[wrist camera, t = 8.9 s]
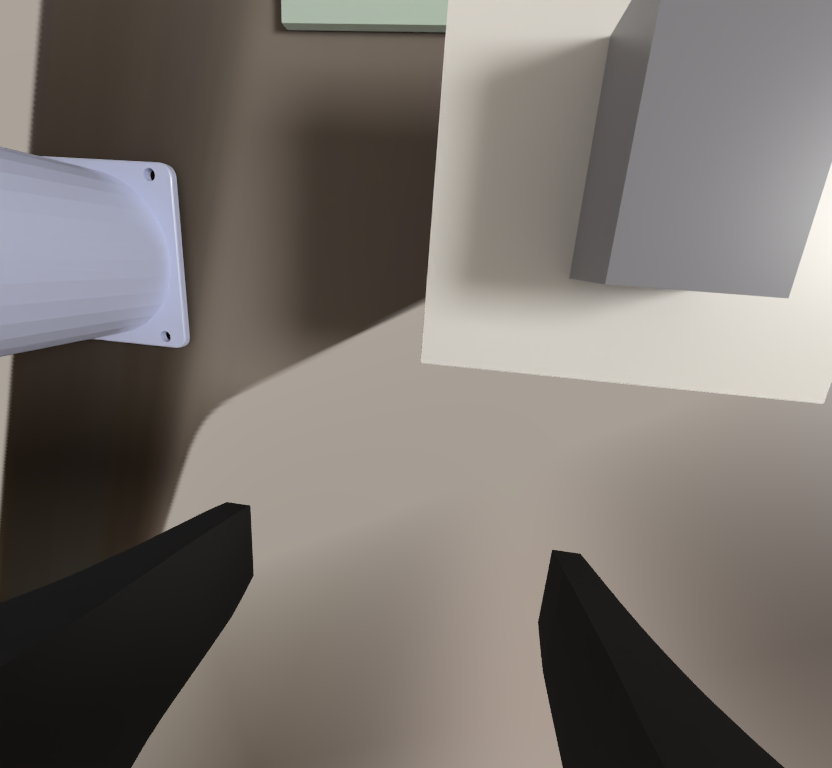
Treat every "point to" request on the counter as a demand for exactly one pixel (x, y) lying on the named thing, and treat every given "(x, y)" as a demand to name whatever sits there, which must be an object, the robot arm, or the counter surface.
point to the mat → (365, 15)
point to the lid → (636, 194)
